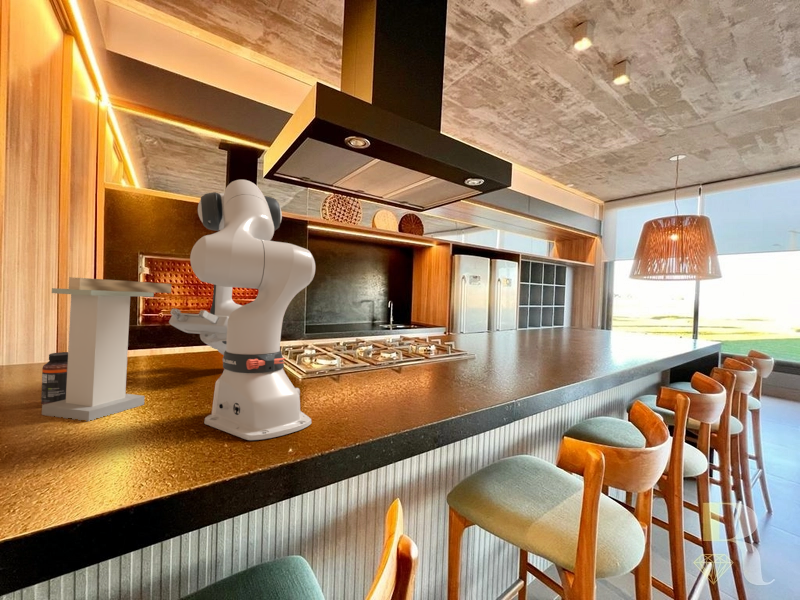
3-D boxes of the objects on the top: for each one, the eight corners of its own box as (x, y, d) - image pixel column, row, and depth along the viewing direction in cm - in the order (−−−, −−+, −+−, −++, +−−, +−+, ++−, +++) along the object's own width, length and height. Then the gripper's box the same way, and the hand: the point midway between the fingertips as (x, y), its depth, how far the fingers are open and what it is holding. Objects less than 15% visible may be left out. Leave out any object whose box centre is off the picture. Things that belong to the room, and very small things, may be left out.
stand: (110, 396, 85) (116, 290, 85) (151, 402, 83) (157, 292, 83) (41, 414, 72) (48, 288, 72) (88, 421, 69) (95, 290, 69)
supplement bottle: (76, 397, 83) (79, 350, 83) (77, 404, 79) (80, 354, 79) (41, 402, 79) (43, 352, 79) (40, 408, 75) (42, 356, 75)
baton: (162, 292, 93) (162, 283, 93) (170, 293, 92) (171, 283, 92) (68, 289, 71) (69, 277, 71) (79, 289, 71) (80, 277, 71)
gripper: (192, 321, 115) (161, 300, 103) (247, 325, 111) (222, 303, 99) (183, 339, 112) (151, 319, 100) (240, 343, 108) (213, 323, 96)
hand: (187, 311), depth 100 cm, fingers open, 8 cm apart
